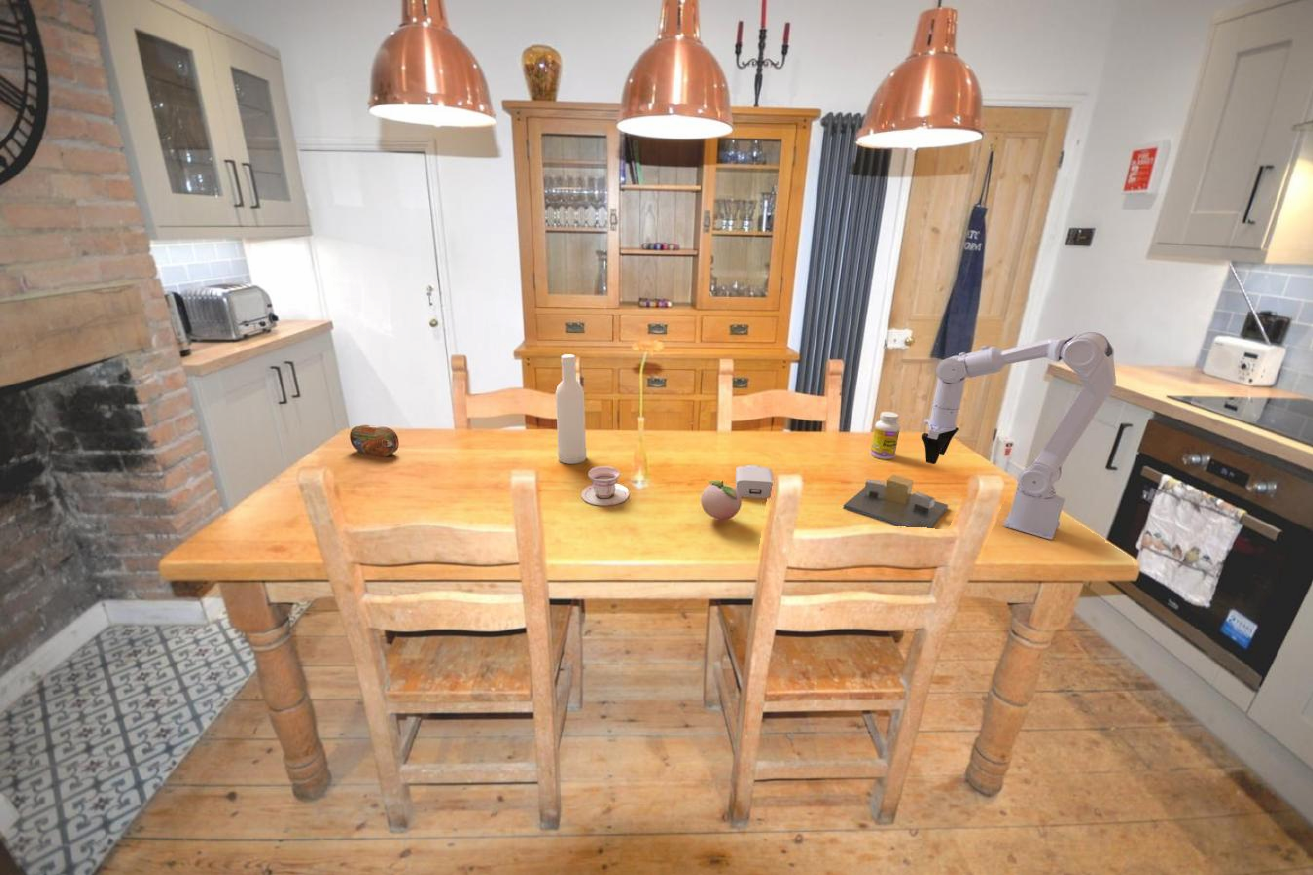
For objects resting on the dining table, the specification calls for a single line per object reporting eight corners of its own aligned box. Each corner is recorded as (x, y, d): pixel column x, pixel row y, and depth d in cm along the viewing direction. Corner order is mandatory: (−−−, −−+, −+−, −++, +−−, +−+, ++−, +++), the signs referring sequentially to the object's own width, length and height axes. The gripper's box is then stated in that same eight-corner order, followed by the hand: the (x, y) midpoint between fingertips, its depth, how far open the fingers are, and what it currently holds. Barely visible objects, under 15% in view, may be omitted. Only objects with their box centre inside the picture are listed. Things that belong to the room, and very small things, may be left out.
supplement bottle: (879, 460, 164) (886, 418, 160) (865, 452, 170) (872, 411, 166) (899, 458, 166) (906, 417, 162) (885, 450, 172) (892, 410, 167)
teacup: (576, 488, 145) (575, 466, 143) (622, 482, 149) (621, 460, 147) (587, 510, 134) (586, 486, 132) (635, 502, 138) (635, 479, 136)
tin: (351, 452, 165) (346, 424, 162) (360, 448, 168) (355, 421, 165) (395, 458, 161) (390, 430, 158) (402, 454, 164) (398, 427, 161)
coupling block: (910, 498, 140) (913, 480, 138) (904, 504, 137) (908, 485, 135) (889, 492, 143) (892, 474, 141) (883, 498, 140) (887, 479, 138)
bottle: (581, 465, 158) (578, 359, 148) (554, 463, 160) (549, 358, 149) (589, 454, 166) (586, 353, 155) (563, 452, 167) (558, 351, 156)
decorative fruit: (691, 519, 130) (693, 480, 127) (714, 508, 136) (717, 470, 132) (723, 535, 124) (726, 494, 121) (746, 522, 130) (749, 482, 126)
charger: (768, 474, 155) (773, 499, 141) (734, 472, 156) (736, 497, 142) (770, 458, 153) (775, 482, 139) (735, 456, 154) (737, 480, 140)
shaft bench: (947, 508, 137) (951, 492, 136) (926, 535, 125) (929, 518, 124) (869, 485, 149) (872, 470, 147) (843, 508, 137) (845, 492, 135)
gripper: (937, 396, 144) (927, 446, 149) (919, 409, 133) (909, 462, 138) (967, 402, 140) (956, 453, 144) (951, 416, 129) (939, 470, 134)
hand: (935, 458), depth 141 cm, fingers open, 7 cm apart
